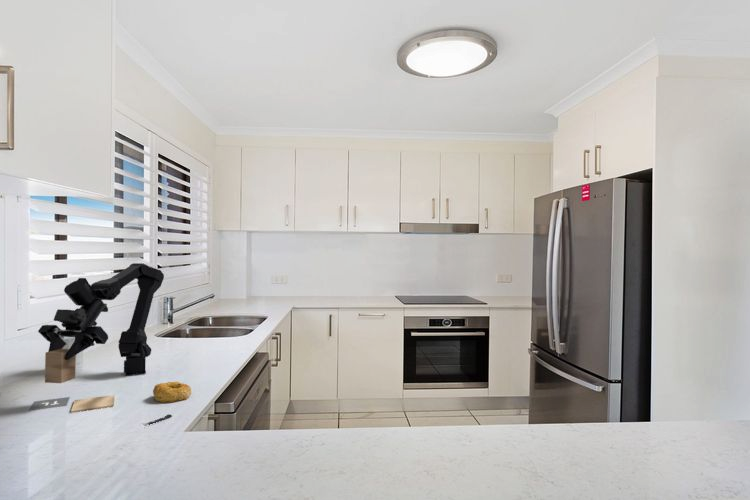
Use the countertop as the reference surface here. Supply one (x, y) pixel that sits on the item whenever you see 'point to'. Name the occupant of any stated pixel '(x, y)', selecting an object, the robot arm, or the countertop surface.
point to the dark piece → (157, 420)
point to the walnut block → (59, 366)
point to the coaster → (93, 403)
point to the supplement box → (79, 356)
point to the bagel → (171, 392)
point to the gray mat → (49, 403)
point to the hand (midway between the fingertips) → (56, 359)
